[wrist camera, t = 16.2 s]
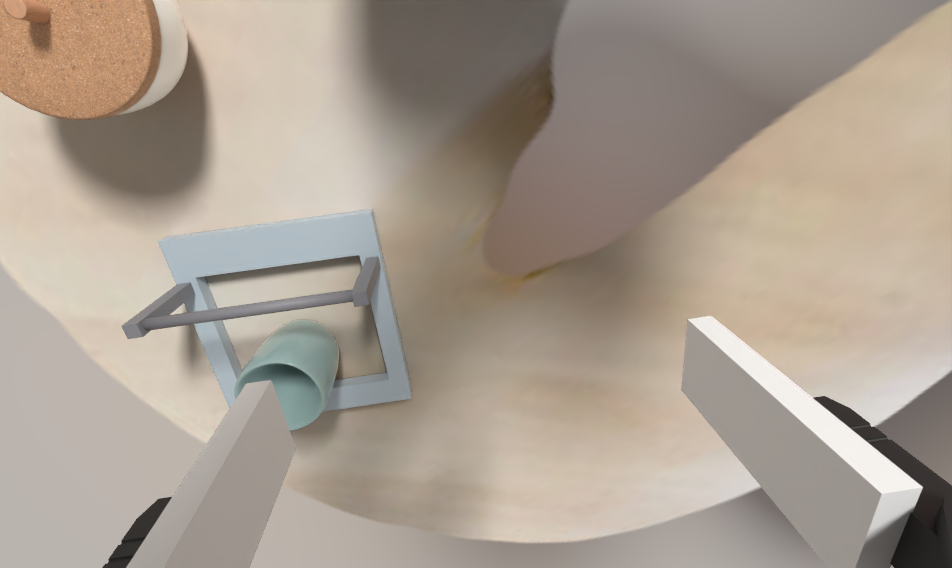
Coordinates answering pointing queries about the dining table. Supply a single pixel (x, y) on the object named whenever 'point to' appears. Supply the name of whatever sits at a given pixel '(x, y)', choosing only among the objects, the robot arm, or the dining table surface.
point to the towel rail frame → (277, 248)
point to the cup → (296, 369)
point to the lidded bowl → (90, 55)
